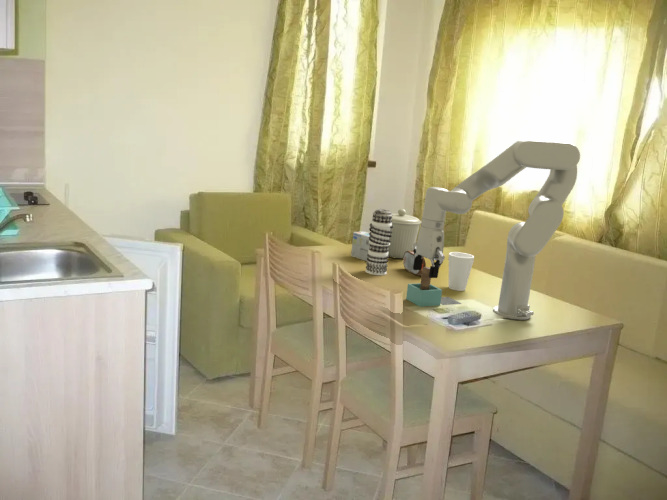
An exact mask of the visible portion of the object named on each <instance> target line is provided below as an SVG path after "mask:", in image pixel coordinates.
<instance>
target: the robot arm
mask: <svg viewBox="0 0 667 500" xmlns="http://www.w3.org/2000/svg"><path fill="white" fill-rule="evenodd" d="M580 158H581V152H580V150H579V148H578V147H577V146H576V145H575V144H573V143H570V142H568V141H563V140H559V141H540V140H533V139H529V138H522V139H519V140H517V141H515V142H514V143H512V145H510V146H509V147H507V148H506V149H505V150H504V151H502V152H501V153H500V154H498V155H497V156H496V157H495V158H493V159H492V160H490V161H489V162H488V163H486V164H485V165H484V166H483V167H481V168H479V169H478V170H477V171H475V172H474V173H472V174H471V175H469V176H467V178H465V179H464V180H463V181H461V182H460V183H458V184H457V185H456V186H455V187H454V188H452V189H451V190H448V189H446V188H443V187H438V186H430V187H428V188H426V191H425V197H424V204H423V210H422V216H421V217H422V218H421V224H420V227H419V230H418V235H417V239H416V243H414V244H413V249H414V250H413V252H414V265H413V270H421V269H422V262H423V259H422V257H424V259H428V260H429V261H430V264H431V265H430V272H429V278H431V279H438V277H439V270H440V267H441V265H443V262H444V260H445V258H446V257H445V255H444V246H445V231H444V227H445V221H446V215H447V214H446V213H447V212H450V213H453V214H455V215H456V214H457V215H463V214H467V213H468V212H469V211H470V210H471V208H472V206H473V201H475V200H476V199H477V198H479V197H480V196H482V195H483V194H485V193H487V192H488V191H490V190H493V189H497V188H499V187H502V186H503V185H504V184H506V183H507V182H509V181H510V180H512V179H513V177H515V176H516V175H518V174H519V173H520V172H522V171H524V170H525V169H526V168H529V169H531V168H532V169H540V170H541V169H542V170H550V171H549V174H548V176H547V179H546V180H545V182H544V184H542V187H541V188H540V189H539V191H538V192H537V194H536V195H535V197H534V198H533V200H532V201H531V202H530V203H529V206H528V209H527V211H528V215H529V216H528V217H527V219H526V220H525V221H522V222H517V223H515V224H514V225H513V226H512V227H511V228H510V229H509V231H508V234H507V239H506V253H505V260H504V268H503V273H502V280H501V286H500V293H499V299H498V304H497V305H496V306H494V307H492V311H493V313H495V314H496V315H499V316H501V317H504V318H506V319H510V320H515V321H516V320H517V321H520V320H521V321H526V320H529V319H531V317H532V316H533V315H534V311H532V310H530V308H531V307H530V305H529V300H530V292H531V287H532V282H533V274H534V271H535V264H536V256H537V255H538V254H540V253H541V252H542V251H543V249H544V248H545V247H546V245H547V244H548V243H549V241H550V240H551V239H552V237H553V235H554V234H555V233H556V231H557V230H558V228H559V227H560V226H561V224H562V221H563V219H564V214H565V213H564V212H565V211H564V208H563V204H564V203H565V202H566V200H567V198H568V197H569V195H570V194H571V192H572V191H573V189H574V186H575V184H576V181H577V177H578V164H579V162H580Z"/></svg>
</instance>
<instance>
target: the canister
mask: <svg viewBox="0 0 667 500" xmlns="http://www.w3.org/2000/svg"><path fill="white" fill-rule="evenodd" d="M391 214H392V215H393V216H392V226H393V228H392V229H391V228H390V231H392V233H390V234H391V235H392V237H389V239H390V240H391V242H389V243H390V245H389V248H388V257H389V256H390V257H389V258H393V257H395V258H394V259H403V258H404V253H405V252H406V251H411V250H414V249H413V244H414V243H416V242H417V239H418V234H419V231H420V227H421V222H422V220H420V218H418V217H416V216H412V215H410V214H407V211H406V210H405V209H404V208H399V209H398V210H397V213H391Z"/></svg>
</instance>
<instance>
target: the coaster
mask: <svg viewBox="0 0 667 500" xmlns="http://www.w3.org/2000/svg"><path fill="white" fill-rule="evenodd" d="M462 304H463V303H461V302H459V301H458V300H455V299H454V298H452V297H449V296H441V303H440V305H442V306H447V305H462Z"/></svg>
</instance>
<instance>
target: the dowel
mask: <svg viewBox="0 0 667 500" xmlns="http://www.w3.org/2000/svg"><path fill="white" fill-rule="evenodd" d="M429 272H430V267H429V266H426V267H423V269H422V275H421V277H420V283H421V284H420V289H421V290H429V289H430V284H431V280H432V278H429Z"/></svg>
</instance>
